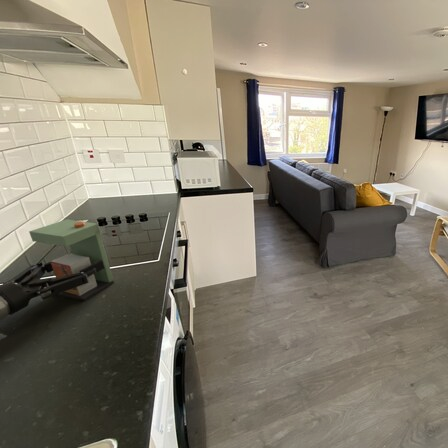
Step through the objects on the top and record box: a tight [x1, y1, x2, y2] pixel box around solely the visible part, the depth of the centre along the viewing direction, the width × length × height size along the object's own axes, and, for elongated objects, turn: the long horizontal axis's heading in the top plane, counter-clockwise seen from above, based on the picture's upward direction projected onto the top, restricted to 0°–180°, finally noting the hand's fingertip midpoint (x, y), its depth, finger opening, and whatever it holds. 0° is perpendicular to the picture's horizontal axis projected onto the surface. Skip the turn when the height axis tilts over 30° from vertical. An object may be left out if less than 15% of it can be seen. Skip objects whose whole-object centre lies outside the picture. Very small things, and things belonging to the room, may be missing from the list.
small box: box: [49, 252, 97, 296], centre depth 79 cm, size 8×6×10 cm
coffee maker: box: [28, 219, 115, 302], centre depth 79 cm, size 12×10×22 cm
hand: (85, 261), depth 82 cm, fingers open, 12 cm apart
